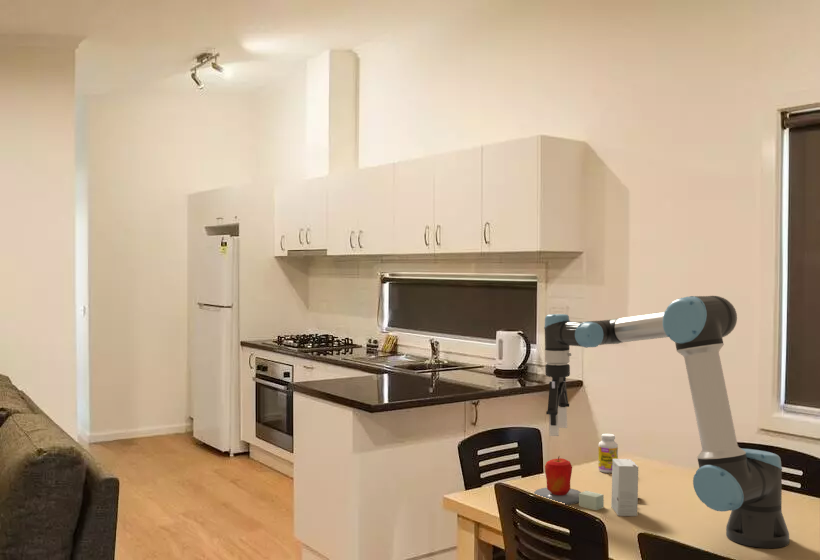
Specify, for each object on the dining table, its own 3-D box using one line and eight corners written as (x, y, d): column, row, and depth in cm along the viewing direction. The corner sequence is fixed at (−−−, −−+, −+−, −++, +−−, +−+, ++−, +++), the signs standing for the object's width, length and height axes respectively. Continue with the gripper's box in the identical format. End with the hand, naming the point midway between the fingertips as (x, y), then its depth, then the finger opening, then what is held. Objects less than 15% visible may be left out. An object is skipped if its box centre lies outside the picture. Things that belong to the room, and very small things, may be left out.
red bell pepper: (556, 488, 248) (556, 451, 247) (578, 493, 241) (577, 455, 241) (539, 493, 242) (539, 455, 242) (561, 498, 236) (560, 460, 235)
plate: (578, 506, 232) (578, 502, 232) (529, 501, 237) (529, 497, 237) (586, 493, 245) (586, 489, 245) (540, 488, 251) (540, 485, 251)
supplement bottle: (598, 472, 270) (597, 436, 270) (598, 468, 277) (598, 432, 277) (617, 473, 269) (617, 437, 269) (618, 469, 275) (617, 433, 275)
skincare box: (610, 507, 230) (610, 458, 230) (631, 507, 230) (630, 458, 230) (618, 516, 222) (617, 465, 222) (639, 516, 222) (638, 465, 222)
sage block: (596, 510, 228) (596, 497, 228) (579, 506, 232) (578, 493, 232) (603, 507, 231) (603, 494, 231) (586, 503, 235) (586, 490, 235)
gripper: (561, 368, 228) (562, 440, 228) (576, 359, 251) (577, 424, 251) (536, 367, 231) (537, 438, 231) (553, 359, 254) (554, 423, 254)
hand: (558, 431), depth 241 cm, fingers open, 13 cm apart
